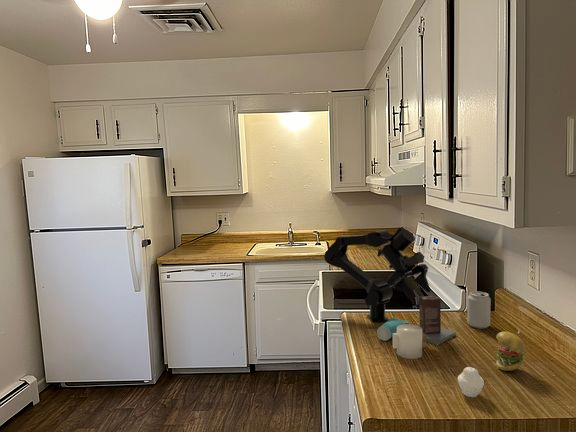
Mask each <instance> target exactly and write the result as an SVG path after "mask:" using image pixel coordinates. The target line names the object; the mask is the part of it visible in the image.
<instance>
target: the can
mask: <svg viewBox="0 0 576 432" xmlns="http://www.w3.org/2000/svg"><path fill="white" fill-rule="evenodd" d="M491 302H492V299H491V297H490V295H489V293H487V292H483V291H479V290H478V291H477V290H476V291H470V292H469V295H468V296H467V320H466V321H467V324H468V325H469V326H470V327H472V328H475V329H480V330H482V329H487V328H488V327H489V326H491V306H492V304H491Z"/></svg>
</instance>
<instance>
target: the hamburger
mask: <svg viewBox="0 0 576 432" xmlns="http://www.w3.org/2000/svg"><path fill="white" fill-rule="evenodd" d="M517 334H520V329H518V330H517ZM517 334H515V333H513V332H510V331H500V332H498V333H497V334H496V336H495V338H496V339H497V341H498V343H497V344H499V347H497V348H496V350H497V354H496V356H497V360H496V363H495V365H496V366H497V368H498V369H500V370H501V371H505V372H506V371H507V372H509V371H515V370H517V369H519V368H520V367H521V366H522V365H523V361H524V356H525V353H524V352H525V351H526V345H525V343H524V341H523V340H522V338H520V337H519V336H518V335H517Z"/></svg>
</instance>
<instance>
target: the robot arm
mask: <svg viewBox="0 0 576 432" xmlns="http://www.w3.org/2000/svg"><path fill="white" fill-rule="evenodd" d="M415 241H416V237H415V235H414V234H413V233H412V232H410V231H409V230H407V229H405V228H404V227H403V226H401V227H399V228H397V230H396V231H395V233H394V234H393V233H389V231H388V230H386V229H383V230H376V231H372V232H369V233H366V234H356V235H355V234H354V235H340V236H338V237H337V238H336V239H335V240H334V242H332V244H331V245H330V246H329V247H328V249H326V250H325V253H324V256H323V257H324V261H325V262H326V263H327V264H328V265H330V266H333V267H335V268H340V270H341V271H343V272H345V273H346V274H347V275H348V276H350V278H352V279H353V280H355V281H356V282H357V283H358V284H359V285H361V286H362V287H363V288H364V289H365V290H366V294H367V296H366V297H365V298H364V302H365V305H368V306H369V314H367V315H366V317H367V318H368V319H369V320H370V321H371V322H373V323H375V322H376V323H377V322H387V321H388V320H389V318H388V317H386V303H388V302H390V299H391V298H392V297H393V295H394V293H393V289H396V290H398V291H400V292H402V293H404V294H406V295H407V296H409V297H410V298H413V299H415V298H416V297H417V295H416V293H415V291H414V290H413V288H412V287H411V285H410V283H409V281H408V279H409V278H411V279H413V282H414V283H416V284H417V285H418V286H420V288H422V289H423V290H424V291H426V292H427V293H428V294H429V293H430V292H431V287H430V285H429V281H428V278H427V273H428V270H429V269H430V267H428V265H427V264H426V263H425V261H424V260H425V255H424V254H423V253H422V252H421V251H417V252H415V253H414V254H413V255H411V256H408V255H404V254H403V253H402V252H405V251H406V250H407V249H408V248H409V247H410V246H411V245H412V244H414V242H415ZM360 245H362V246H363V245H365V246H369V247H374V248H378V247H382V246H383V247H382V248H378V250H377V257H382V256H383V257H384V258H385V259H386V261H387V263H388V264H389V266H388V267H389V269H390V270H392V269H393V270H394V272H392V273H391V274H390V275H389V276H388V277H387V278H386V280H385V279H383V278H382V277H380V278H376V279H375V278H374V277H372V276H370V275H369V274H368V273H367V272H365V271H364V270H363V269H361V268H360V267H359V266H357V265H356V264H355V263H354V262H353V261H351V260H350V259H349V257H348V254H347V252H348V250H349V249H348V248H349V246H360Z"/></svg>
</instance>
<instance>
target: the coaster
mask: <svg viewBox="0 0 576 432" xmlns="http://www.w3.org/2000/svg"><path fill="white" fill-rule="evenodd" d="M417 326H419V327H420V324H418V325H417ZM422 333H423V332H422ZM456 334H457V332H456V331H454V330H452V329H451V330H450V329H448V328H444V327H441V333H428V334H426V335H427V343H430V344H433V345H436V346H438V345H441V344H442V343H443V342H445V341H447V340H449V339H452V338H453V337H455V336H456Z"/></svg>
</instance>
